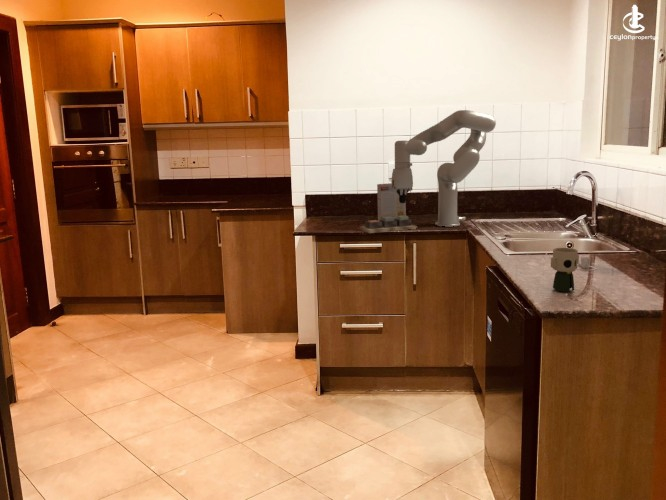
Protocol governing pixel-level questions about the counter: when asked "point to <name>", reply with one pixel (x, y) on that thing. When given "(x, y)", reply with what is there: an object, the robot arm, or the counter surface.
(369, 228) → the button board
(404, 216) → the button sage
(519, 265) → the counter surface
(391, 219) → the button slate
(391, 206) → the cracker box
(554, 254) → the beige and green figure
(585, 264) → the teacup and saucer
